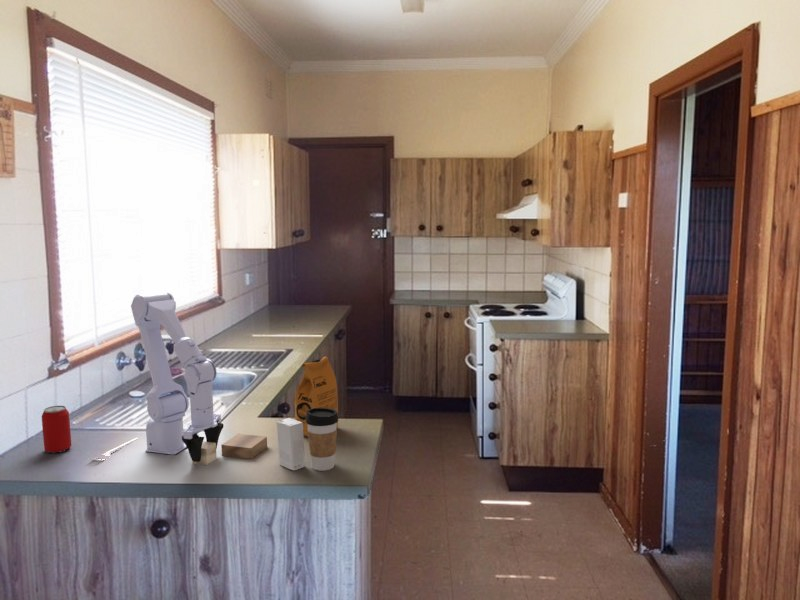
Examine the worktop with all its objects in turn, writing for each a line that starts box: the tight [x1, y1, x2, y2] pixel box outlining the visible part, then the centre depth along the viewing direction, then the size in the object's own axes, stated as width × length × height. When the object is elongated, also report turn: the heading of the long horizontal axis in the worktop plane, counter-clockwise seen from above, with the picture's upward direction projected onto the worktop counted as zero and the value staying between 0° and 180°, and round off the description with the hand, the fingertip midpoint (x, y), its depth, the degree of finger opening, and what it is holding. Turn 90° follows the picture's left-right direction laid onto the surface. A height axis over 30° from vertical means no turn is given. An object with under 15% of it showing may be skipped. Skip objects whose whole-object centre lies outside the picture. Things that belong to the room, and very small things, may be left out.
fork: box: [87, 437, 139, 462], centre depth 179 cm, size 3×20×2 cm, turn 168°
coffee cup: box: [306, 408, 339, 472], centre depth 167 cm, size 8×8×15 cm
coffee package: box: [294, 356, 339, 438], centre depth 192 cm, size 10×12×22 cm
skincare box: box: [276, 417, 306, 472], centre depth 167 cm, size 6×4×12 cm
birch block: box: [191, 441, 218, 466], centre depth 171 cm, size 4×4×4 cm
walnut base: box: [221, 433, 268, 460], centre depth 178 cm, size 9×9×3 cm
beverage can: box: [41, 405, 72, 453], centre depth 179 cm, size 7×7×12 cm
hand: (204, 455), depth 172 cm, fingers open, 7 cm apart
